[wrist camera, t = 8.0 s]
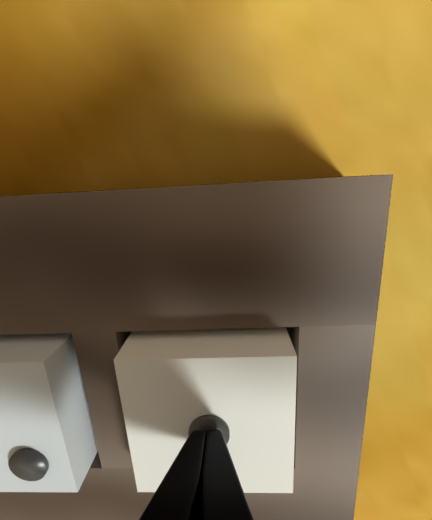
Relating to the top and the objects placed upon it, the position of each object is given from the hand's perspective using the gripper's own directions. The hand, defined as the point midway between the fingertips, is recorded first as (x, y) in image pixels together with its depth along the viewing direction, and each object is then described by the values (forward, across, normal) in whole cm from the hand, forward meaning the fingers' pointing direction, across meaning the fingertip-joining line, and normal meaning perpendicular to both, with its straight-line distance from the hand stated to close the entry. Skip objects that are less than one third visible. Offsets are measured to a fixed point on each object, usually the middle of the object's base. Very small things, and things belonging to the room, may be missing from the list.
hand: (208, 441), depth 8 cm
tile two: (+3, +7, 0) cm, 8 cm away
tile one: (+3, 0, 0) cm, 3 cm away
